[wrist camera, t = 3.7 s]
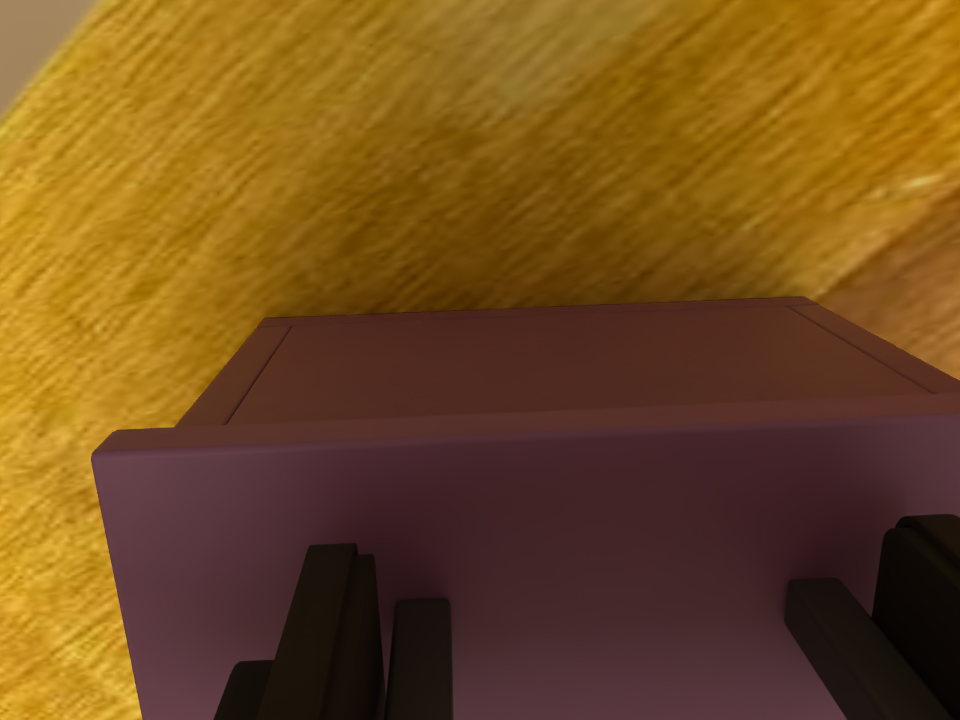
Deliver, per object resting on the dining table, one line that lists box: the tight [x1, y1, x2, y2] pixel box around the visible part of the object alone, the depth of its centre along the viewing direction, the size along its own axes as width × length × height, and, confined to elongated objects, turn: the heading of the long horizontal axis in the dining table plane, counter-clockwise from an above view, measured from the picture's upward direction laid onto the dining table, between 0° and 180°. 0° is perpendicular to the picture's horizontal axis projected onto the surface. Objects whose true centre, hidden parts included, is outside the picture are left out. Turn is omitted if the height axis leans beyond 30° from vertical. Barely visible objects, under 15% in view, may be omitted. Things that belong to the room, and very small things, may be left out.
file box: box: [175, 297, 960, 427], centre depth 17 cm, size 16×13×8 cm
